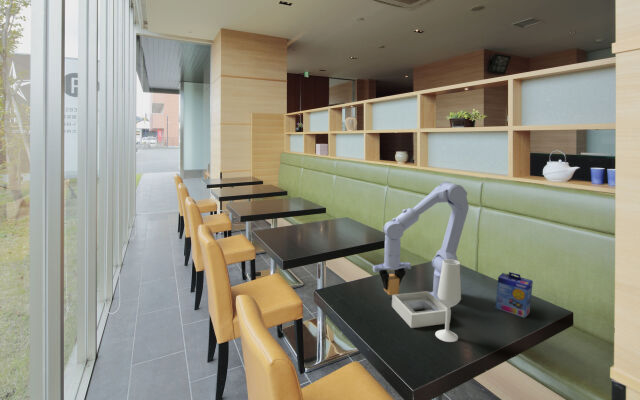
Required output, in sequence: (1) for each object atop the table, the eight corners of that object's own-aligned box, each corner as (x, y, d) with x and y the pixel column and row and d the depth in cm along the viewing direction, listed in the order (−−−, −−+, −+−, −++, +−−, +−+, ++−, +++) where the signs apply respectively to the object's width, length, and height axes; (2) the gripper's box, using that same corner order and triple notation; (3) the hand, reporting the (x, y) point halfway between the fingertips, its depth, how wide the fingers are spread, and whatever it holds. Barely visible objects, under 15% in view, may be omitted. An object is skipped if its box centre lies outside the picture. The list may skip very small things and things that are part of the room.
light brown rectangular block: (393, 288, 134) (393, 273, 133) (398, 293, 129) (399, 278, 128) (383, 289, 133) (384, 274, 132) (388, 295, 128) (389, 279, 127)
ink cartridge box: (494, 308, 124) (497, 270, 121) (499, 303, 128) (503, 266, 125) (525, 318, 117) (529, 278, 115) (529, 312, 121) (534, 273, 118)
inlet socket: (425, 306, 126) (425, 298, 126) (440, 319, 116) (441, 311, 116) (399, 309, 124) (400, 301, 123) (413, 323, 114) (413, 314, 114)
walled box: (426, 302, 129) (427, 291, 128) (450, 322, 114) (450, 310, 114) (391, 306, 126) (392, 294, 125) (411, 328, 112) (411, 315, 111)
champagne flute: (450, 328, 111) (455, 257, 107) (462, 340, 104) (468, 265, 100) (431, 330, 110) (435, 258, 106) (441, 343, 103) (446, 266, 99)
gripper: (405, 248, 134) (404, 281, 136) (369, 251, 131) (369, 285, 133) (414, 254, 127) (412, 289, 129) (376, 257, 124) (376, 293, 126)
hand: (391, 288), depth 131 cm, fingers closed on light brown rectangular block, 4 cm apart
